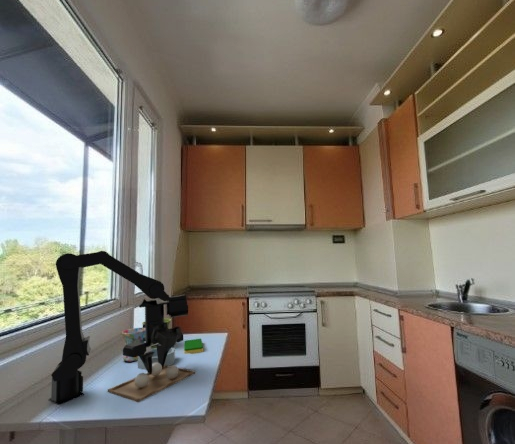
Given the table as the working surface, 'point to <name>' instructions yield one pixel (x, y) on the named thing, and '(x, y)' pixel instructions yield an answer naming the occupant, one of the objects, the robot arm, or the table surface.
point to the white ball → (156, 369)
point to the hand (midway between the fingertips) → (155, 371)
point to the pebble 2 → (172, 372)
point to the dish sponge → (193, 346)
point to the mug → (133, 339)
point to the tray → (149, 385)
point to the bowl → (168, 361)
